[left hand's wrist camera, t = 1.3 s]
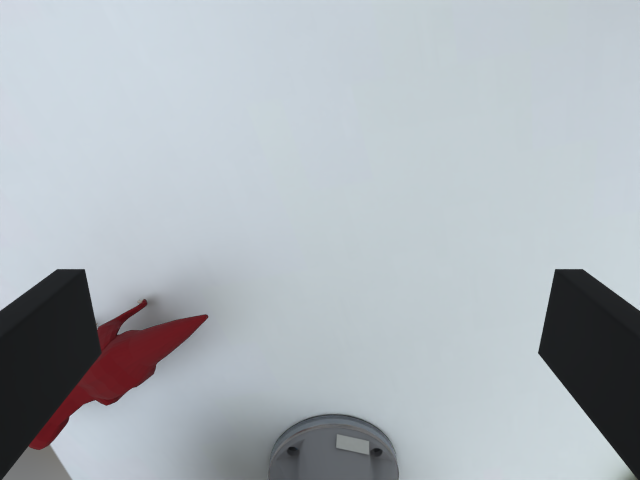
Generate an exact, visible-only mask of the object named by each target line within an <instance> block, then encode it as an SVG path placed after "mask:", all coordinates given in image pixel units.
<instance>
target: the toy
mask: <svg viewBox="0 0 640 480" xmlns="http://www.w3.org/2000/svg"><path fill="white" fill-rule="evenodd" d="M138 303H141V304H139V305H138V306H136V307H134V308H133V309H131V310H129V311H127V312H125V313H123V314H122V315H120V316H118V317H116V318H115V319H113V320H111V321H109V322H107V323H105V324H103V325H101V326H99V327H98V329H97V332H98V337H99V342H100V347H101V352H102V354H101V355H100V356H99V357H98V359H97V360H96V361H95V362H94V364H93V365H92V366H91V367H90V369H89V370H88V371H87V373H86V374H85V375H84V376H83V378H82V379H81V380H80V381H79V383H78V384H77V385H76V386H75V388H74V389H73V390H72V391H71V393H70V394H69V395H68V397H67V398H66V399H65V400H64V402H63V403H62V404H61V405H60V407H59V408H58V409H57V410H56V412H55V413H54V414H53V415H52V417H51V418H50V419H49V421H48V422H47V423H46V424H45V426H44V427H43V428H42V429H41V431H40V432H39V433H38V434H37V436H36V437H35V438H34V440H33V441H32V442H31V443H30V445H29V447H30V448H33V449H37V450H40V449H43V448H45V447H46V446H48V445H49V444H50V443H51V442H52V441H53V440H54V439H55V438H56V437H57V436H58V434H59V433H60V432H61V431H62V429H63V428H64V427H65V426H66V424H67V423H68V421H69V416H70V415H72V414H73V413H74V412H75V411H76V410H78V409H79V408H80V407H81V406H82V405H83V404H86V403H88V402H91V401H94V400H96V401H98V402H100V403H101V404H104V405H106V406H107V405H110V404H112V403H115V402H116V401H118V400H119V399H120V398H121V397H122V396H123V395H124V394H125V393H126V392H127V391H129V390H130V389H131V388H134V387H137V386H139V385H140V384H142V383H143V382H144V381H145V380H147V379H148V378H149V377H150V376H152V375H153V374H154V372H155V369H156V364H157V363H158V362H159V361H160V360H162V359H163V358H164V357H166V356H167V355H168V354H170V353H171V352H172V351H173V350H174V349H176V348H177V347H178V346H179V345H180V344H181V343H183V342H184V341H185V340H186V339H187V338H189V337H190V336H191V335H192V334H193V333H194V331H195V330H196V329H197V328H198V327H199V326H200V325H201V324H202V323H203V322H204V321H205V320H206V319H207V318H208V315H206V314H205V315H200V316H194V317H189V318H184V319H178V320H174V321H171V322H167V323H164V324H160V325H156V326H153V327H150V328H147V329H144V330H130V331H126V332H124V333H122V334H120V335H117V333H118V331H119V329H120V327H121V326H122V324H123V323H124V322H125V321H126V320H127V319H128V318H130V317H131V316H132V315H134V314H135V313H137V312H138V311H140V310H141V309H143V308H144V307H145V306H146V305H147V301H146V300H145V299H143V300H141V301H138ZM96 325H97V323H96Z"/></svg>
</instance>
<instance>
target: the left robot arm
mask: <svg viewBox="0 0 640 480" xmlns="http://www.w3.org/2000/svg"><path fill="white" fill-rule="evenodd" d="M101 354H102V352H101V347H100V342H99V337H98V332H97V327H96V322H95V317H94V312H93V307H92V302H91V298H90V293H89V288H88V283H87V278H86V273H85V269H57V270H56V271H54V272H53V273H52V274H50V275H49V276H47V277H46V278H45V279H43V280H42V281H41V282H39V283H38V284H37V285H35V286H34V287H32V288H31V289H30V290H28V291H27V292H26V293H24V294H23V295H21V296H20V297H19V298H17V299H16V300H15V301H13V302H12V303H11V304H9V305H8V306H6V307H5V308H4V309H2V310H1V311H0V480H2V479H3V477H4V476H5V475H6V474H7V472H8V471H9V470H10V469H11V467H12V466H13V465H14V463H15V462H16V461H17V460H18V458H19V457H20V456H21V455H22V453H23V452H24V451H25V450H26V448H27V447H28V446H29V445H30V443H31V442H32V441H33V440H34V438H35V437H36V436H37V434H38V433H39V432H40V431H41V429H42V428H43V427H44V426H45V424H46V423H47V422H48V421H49V419H50V418H51V417H52V415H53V414H54V413H55V412H56V410H57V409H58V408H59V407H60V405H61V404H62V403H63V402H64V400H65V399H66V398H67V397H68V395H69V394H70V393H71V391H72V390H73V389H74V388H75V386H76V385H77V384H78V383H79V381H80V380H81V379H82V378H83V376H84V375H85V374H86V373H87V371H88V370H89V369H90V367H91V366H92V365H93V364H94V362H95V361H96V360H97V359H98V357H99V356H100V355H101ZM538 354H539V355H540V356H541V357H542V359H543V360H544V361H545V362H546V364H547V365H548V366H549V367H550V369H551V370H552V371H553V373H554V374H555V375H556V376H557V378H558V379H559V380H560V381H561V383H562V384H563V385H564V386H565V388H566V389H567V390H568V391H569V393H570V394H571V395H572V397H573V398H574V399H575V400H576V402H577V403H578V404H579V405H580V407H581V408H582V409H583V410H584V412H585V413H586V414H587V415H588V417H589V418H590V419H591V421H592V422H593V423H594V424H595V426H596V427H597V428H598V429H599V431H600V432H601V433H602V434H603V436H604V437H605V438H606V440H607V441H608V442H609V443H610V445H611V446H612V447H613V448H614V450H615V451H616V452H617V453H618V455H619V456H620V457H621V458H622V460H623V461H624V462H625V464H626V465H627V466H628V467H629V469H630V470H631V471H632V472H633V474H634V475H635V476H636V477H637V479H638V480H640V311H639V310H638V309H636V308H635V307H634V306H632V305H631V304H629V303H628V302H627V301H625V300H624V299H623V298H621V297H620V296H619V295H617V294H616V293H614V292H613V291H612V290H610V289H609V288H608V287H606V286H605V285H603V284H602V283H601V282H599V281H598V280H597V279H595V278H594V277H593V276H591V275H590V274H588V273H587V272H586V271H584V270H583V269H555V273H554V278H553V283H552V288H551V293H550V298H549V302H548V307H547V312H546V317H545V322H544V327H543V332H542V337H541V342H540V347H539V352H538ZM398 478H399V471H398V465H397V460H396V455H395V451H394V448H393V446H392V444H391V442H390V441H389V439H388V438H387V437H386V436H385V435H384V434H383V433H382V432H381V431H380V430H379V429H377V428H376V427H375V426H373V425H371V424H369V423H367V422H365V421H363V420H360V419H357V418H353V417H349V416H341V415H326V416H319V417H314V418H310V419H307V420H304V421H302V422H300V423H298V424H296V425H294V426H292V427H291V428H290V429H288V430H287V431H286V432H285V433H284V434H283V435H282V436H281V437H280V438H279V439H278V441H277V442H276V444H275V445H274V448H273V450H272V454H271V459H270V466H269V480H398Z"/></svg>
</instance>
